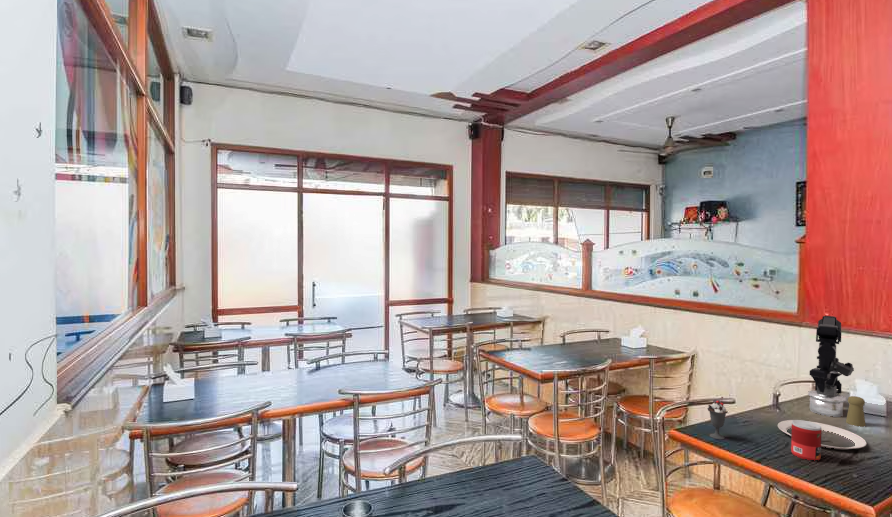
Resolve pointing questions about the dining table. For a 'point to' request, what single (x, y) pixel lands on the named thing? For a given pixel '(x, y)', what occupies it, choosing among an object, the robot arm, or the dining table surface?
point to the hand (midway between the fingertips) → (826, 390)
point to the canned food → (806, 440)
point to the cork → (856, 411)
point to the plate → (855, 438)
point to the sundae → (717, 418)
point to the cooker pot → (826, 407)
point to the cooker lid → (827, 394)
